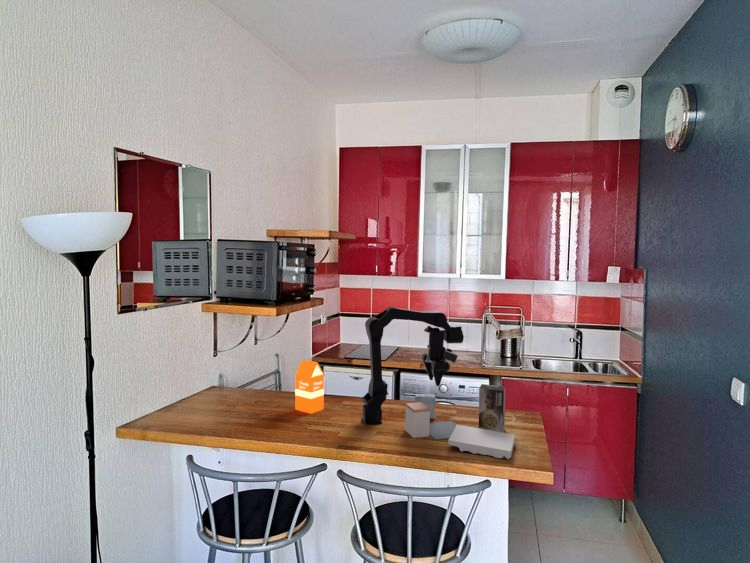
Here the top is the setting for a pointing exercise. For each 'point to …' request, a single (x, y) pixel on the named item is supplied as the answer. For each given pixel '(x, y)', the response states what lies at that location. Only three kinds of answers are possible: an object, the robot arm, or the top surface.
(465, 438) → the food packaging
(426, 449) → the top surface
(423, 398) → the medicine box
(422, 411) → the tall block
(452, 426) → the mat
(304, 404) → the orange juice
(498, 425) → the coffee box
